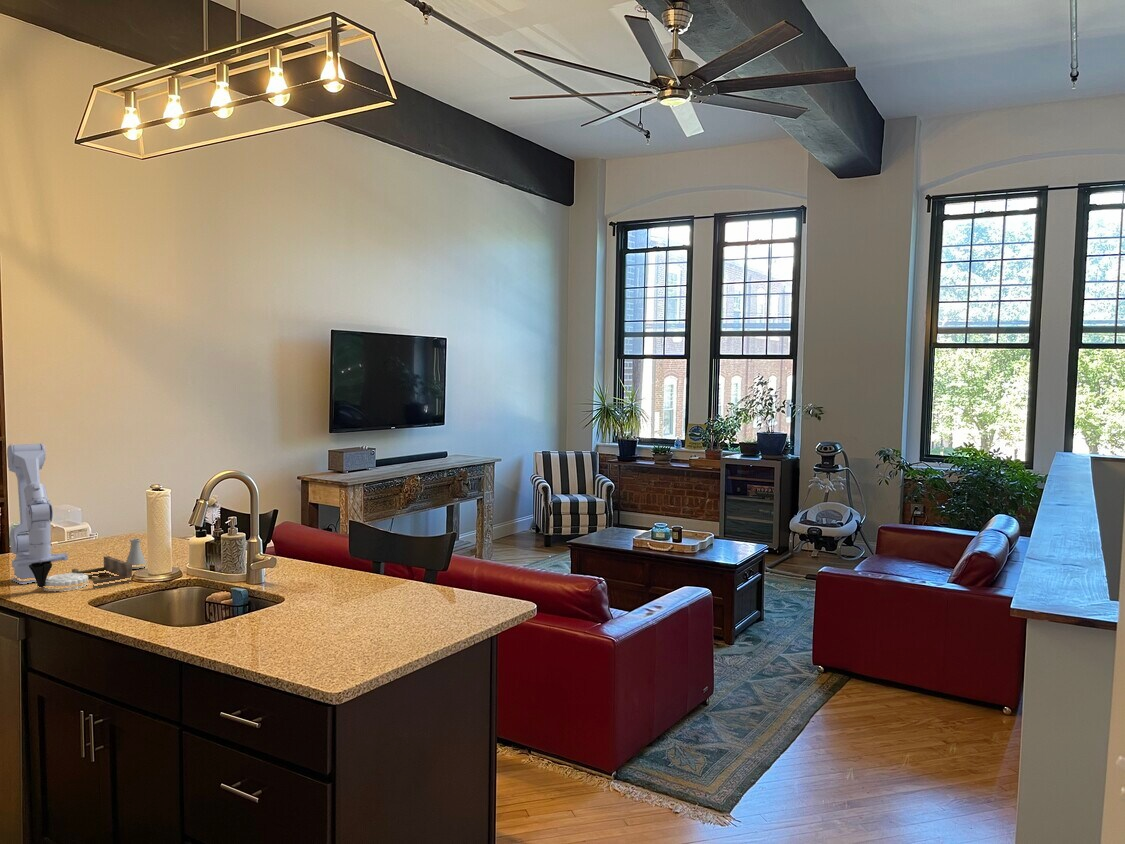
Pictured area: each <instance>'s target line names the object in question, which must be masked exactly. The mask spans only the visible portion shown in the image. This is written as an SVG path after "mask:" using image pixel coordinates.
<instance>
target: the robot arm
mask: <svg viewBox="0 0 1125 844" xmlns="http://www.w3.org/2000/svg"><path fill="white" fill-rule="evenodd" d="M46 452H47V451H46V446H45V444H43V443H42V442H41V443H29V444H9V445H8V446H7V449H6V456H7V467H8V471H9V472H12V473H14V474H15V476H16V480H17V493H18V495H17V496H18V506H19V524H18V525H16V526H15V527H14V528H12V530H11V532H10V551H11V553H12V554H13V555H16V556H15V557H14V560H11V568H13V571H14V572H13V573H14V575H16V576H17V578H20V579H27V578H35V579H36V580H30V581H19V580H17V578H15V577H14V576H13V577H14V578H11V579H10V580H11V581H12V580H13V581H12V582H14V581H15V582H14V583H16V582H17V583H16V584H18V583H19V585H20V584H23V585H28V584H27V583H29V584H33V583H32V582H35V583H36V584H37V585H36V586H37V587H38V586H39V587H42V588H44V587H43V586H45V581H46V578H48V575H49V573H50V572H51V569H52V567H53V563H55V562H60V561H68V557H69V556H68V555H69V554H68V553H64V552H63V553H54V554H52V537H51V536H52V533H51V532H52V529H51V526H52V525H51V522H52V521H53V516H54V512H53V511H54V510H53V506H52V503H51V501H50V499H48V495H47V488H46V485H44V484H43V483H41V474H40V473H41V472H40V470H42V469H43V466H44V464H45V462H46V459H47V457H46V455H47V454H46ZM39 587H38V588H39Z"/></svg>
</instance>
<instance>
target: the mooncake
mask: <svg viewBox="0 0 1125 844" xmlns="http://www.w3.org/2000/svg"><path fill="white" fill-rule="evenodd" d="M86 581H88V583H86V584H85V585H82V586H77V587H71V588H64V589H48V588H45V587H43V590H44V589H45V590H48V591H47V592H49V591H64V590H72V589H77V590H79V589H78V588H82V587H85V586H86V585H88V586H89V578H88V575H86V574H84V573H72V572H70V573H69V572H66V573H61V574H54V575H50V576H49V577H48V576H47V578H46V581H45V586H54V587H56V586H69V585H76V584H80V583H83V582H86ZM85 588H86V587H85ZM82 589H83V588H82ZM45 590H44V591H45Z"/></svg>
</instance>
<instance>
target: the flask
mask: <svg viewBox="0 0 1125 844" xmlns="http://www.w3.org/2000/svg"><path fill="white" fill-rule="evenodd" d="M141 541H142V539H141V538H131V539H129V543H130V548H129V549H130V551H129V553H128V556H127V559H126V561H125V562H127V563H130V564H132V565H140V564H145V563H147V560H146V559H145V556H144V554H143V551H142V548H141ZM147 565H148V563H147V564H146V565H145V566H141V567H132V569H139V568H143V567H146V566H147ZM147 567H148V566H147ZM147 567H146V568H147ZM143 569H144V568H143ZM139 570H140V569H139Z"/></svg>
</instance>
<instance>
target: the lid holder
mask: <svg viewBox="0 0 1125 844" xmlns="http://www.w3.org/2000/svg"><path fill="white" fill-rule="evenodd" d="M104 570H106V571H109V572H111V573H114V574H117V575H119V576H114V575H111V574H109V573H106V572H105V573H99V574H93V575H88V577H92V576H98V575H105V574H106V575H109V576H111V577H109V576H108V577H105V578H100V576H99V577H92V578H91V581H92V589H93V588H99V589H102V588H101V587H104V588H108V587H107V586H110V587H113V586H112V585H116V586H119V585H118V584H121V585H124V584H123V583H127V584H130V583H129V582H132V583H133V579H132V580H127V581H121V582H115V583H109V584H103V585H98V586H94V585H93V583H94V584H97V583H103V582H109V581H115V580H120V579H125V578H130V577H132V578H133V570H132V564H130V563H127V562H126V561H124V560H121V559H118V558H115V557H113V556H109V555H108V556H107V555H106V556H103V566H102V567H97V568H91V569H85V570H79V568H72V569H71V573H91V572H98V571H104ZM106 575H105V576H106Z"/></svg>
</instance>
